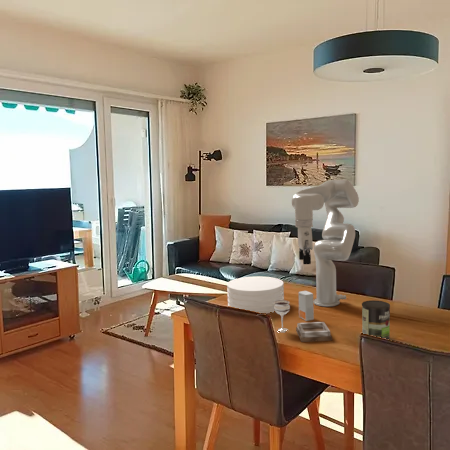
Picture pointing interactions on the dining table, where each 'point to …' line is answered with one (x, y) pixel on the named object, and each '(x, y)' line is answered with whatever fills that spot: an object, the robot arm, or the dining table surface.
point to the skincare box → (306, 305)
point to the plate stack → (255, 293)
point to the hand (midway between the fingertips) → (304, 261)
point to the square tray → (313, 332)
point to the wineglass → (282, 311)
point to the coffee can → (376, 318)
